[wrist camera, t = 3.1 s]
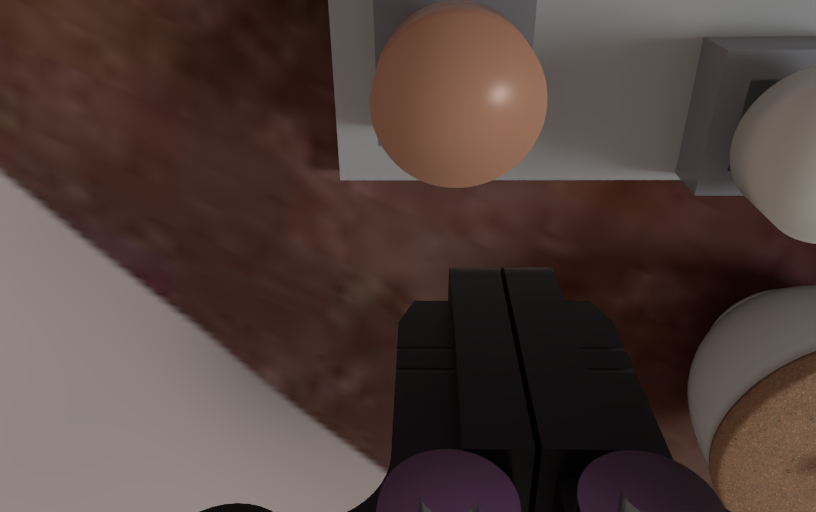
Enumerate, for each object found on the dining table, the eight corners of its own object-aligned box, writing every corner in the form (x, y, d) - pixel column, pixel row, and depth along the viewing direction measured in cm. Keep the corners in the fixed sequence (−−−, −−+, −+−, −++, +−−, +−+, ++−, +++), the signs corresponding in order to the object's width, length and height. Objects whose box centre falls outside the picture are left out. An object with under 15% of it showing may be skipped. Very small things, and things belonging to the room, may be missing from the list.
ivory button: (723, 49, 22) (788, 85, 18) (875, 48, 22) (973, 83, 18) (692, 186, 25) (742, 244, 21) (827, 186, 25) (905, 244, 21)
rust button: (376, -10, 22) (366, 14, 18) (531, -11, 22) (556, 12, 18) (381, 138, 24) (373, 187, 20) (520, 137, 24) (539, 187, 20)
